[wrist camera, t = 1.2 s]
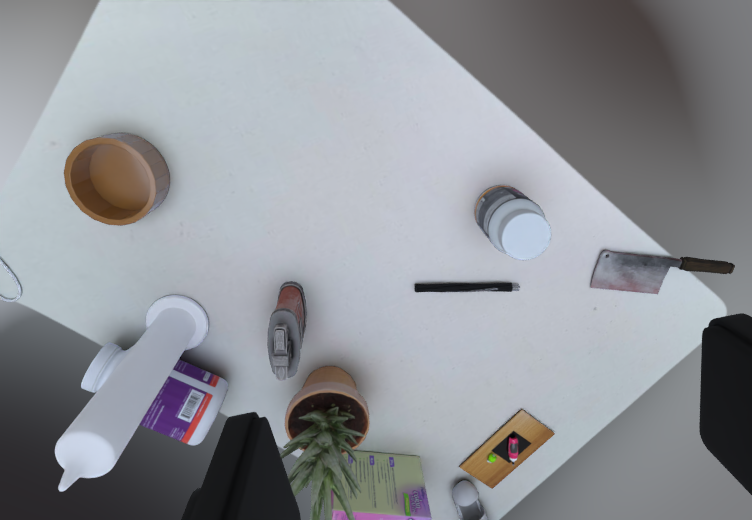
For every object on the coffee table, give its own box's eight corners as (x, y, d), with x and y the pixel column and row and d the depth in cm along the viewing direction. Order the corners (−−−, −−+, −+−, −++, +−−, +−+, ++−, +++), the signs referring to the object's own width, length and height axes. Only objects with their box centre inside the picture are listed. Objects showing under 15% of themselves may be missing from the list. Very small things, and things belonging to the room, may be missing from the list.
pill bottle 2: (533, 210, 55) (569, 239, 46) (492, 243, 56) (519, 277, 47) (504, 172, 53) (535, 194, 44) (462, 207, 55) (484, 235, 45)
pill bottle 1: (216, 406, 64) (107, 359, 61) (238, 369, 60) (122, 317, 57) (191, 461, 57) (67, 412, 54) (214, 425, 53) (81, 369, 50)
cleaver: (591, 289, 58) (604, 251, 56) (587, 285, 59) (600, 247, 57) (719, 301, 59) (737, 264, 57) (714, 297, 60) (731, 260, 58)
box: (325, 548, 58) (424, 554, 59) (331, 510, 56) (433, 517, 57) (328, 482, 68) (412, 488, 69) (333, 448, 66) (419, 454, 67)
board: (459, 466, 68) (461, 474, 66) (521, 409, 65) (525, 416, 63) (491, 487, 69) (494, 496, 68) (554, 432, 66) (558, 440, 65)
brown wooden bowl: (71, 143, 50) (48, 149, 47) (151, 124, 50) (135, 128, 46) (105, 222, 54) (87, 233, 50) (181, 204, 53) (168, 214, 49)
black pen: (520, 285, 57) (519, 292, 58) (518, 281, 58) (517, 288, 59) (415, 286, 57) (415, 294, 57) (414, 282, 58) (414, 289, 58)
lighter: (306, 342, 60) (298, 393, 51) (278, 342, 60) (265, 392, 50) (306, 281, 57) (297, 323, 48) (276, 281, 57) (261, 322, 48)
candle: (188, 357, 60) (82, 541, 37) (136, 326, 58) (-10, 497, 35) (220, 317, 58) (131, 482, 35) (168, 283, 56) (36, 433, 33)
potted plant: (330, 429, 65) (316, 627, 42) (276, 386, 62) (230, 572, 39) (386, 384, 63) (405, 566, 40) (333, 337, 60) (320, 504, 37)
